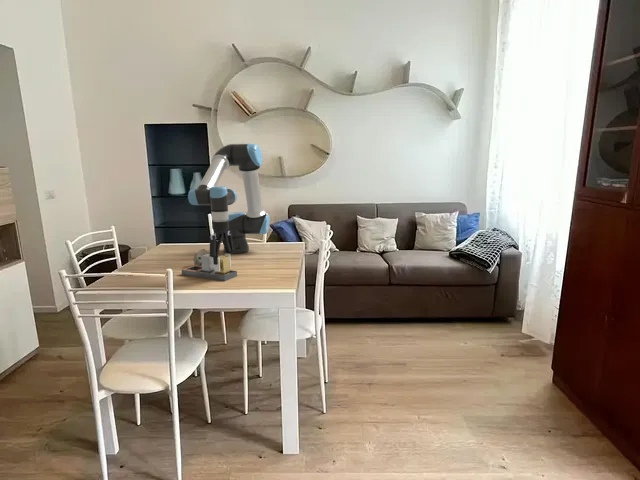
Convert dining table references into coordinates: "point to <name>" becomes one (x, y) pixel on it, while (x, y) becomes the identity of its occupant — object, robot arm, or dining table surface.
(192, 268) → the grey block rack
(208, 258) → the grey square-ended block
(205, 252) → the rock
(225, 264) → the tan rectangular block
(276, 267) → the dining table surface
